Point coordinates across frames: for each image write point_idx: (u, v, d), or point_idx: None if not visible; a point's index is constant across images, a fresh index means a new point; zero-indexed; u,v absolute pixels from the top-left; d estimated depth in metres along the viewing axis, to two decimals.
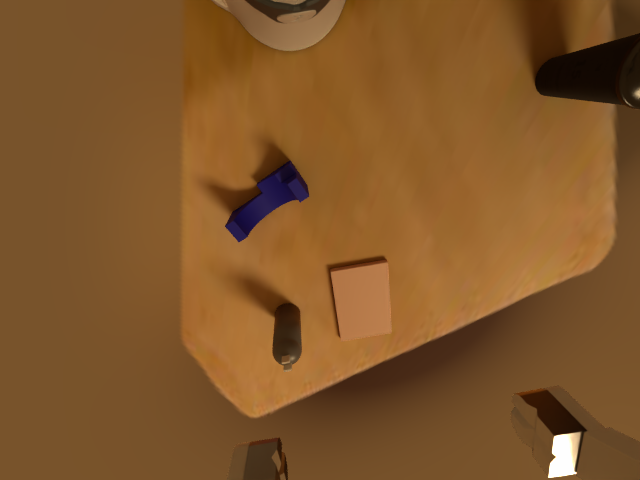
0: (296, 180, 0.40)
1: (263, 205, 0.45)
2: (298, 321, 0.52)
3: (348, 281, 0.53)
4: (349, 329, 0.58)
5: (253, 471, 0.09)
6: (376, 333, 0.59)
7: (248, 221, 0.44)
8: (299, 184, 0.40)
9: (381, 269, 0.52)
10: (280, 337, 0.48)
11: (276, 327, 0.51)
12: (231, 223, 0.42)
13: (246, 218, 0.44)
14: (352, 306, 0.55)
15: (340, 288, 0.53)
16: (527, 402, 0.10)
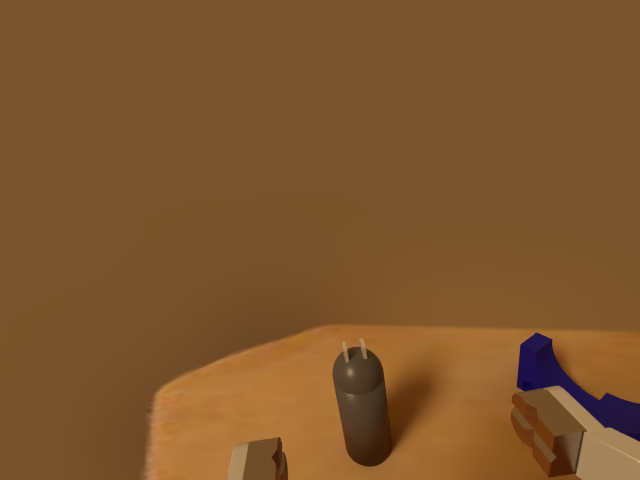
0: None
1: (579, 400, 0.30)
2: (378, 434, 0.27)
3: None
4: None
5: (253, 471, 0.09)
6: None
7: (548, 369, 0.31)
8: None
9: None
10: None
11: None
12: (545, 337, 0.32)
13: (551, 368, 0.31)
14: None
15: None
16: (527, 402, 0.10)
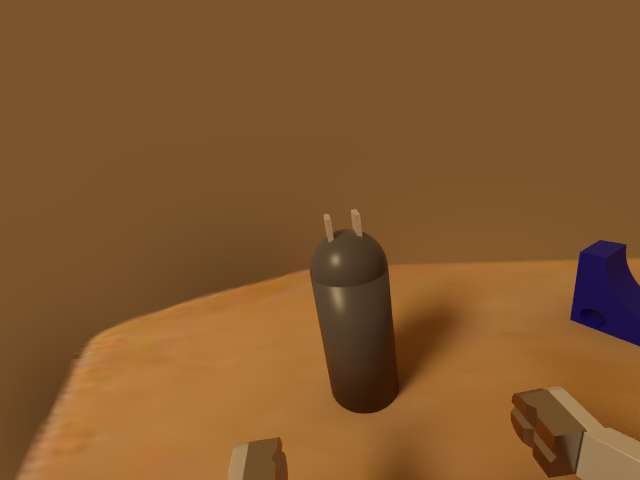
0: None
1: None
2: (379, 359, 0.18)
3: None
4: None
5: (253, 471, 0.09)
6: None
7: (622, 286, 0.21)
8: None
9: None
10: None
11: None
12: (616, 243, 0.22)
13: (626, 285, 0.21)
14: None
15: None
16: (527, 402, 0.10)
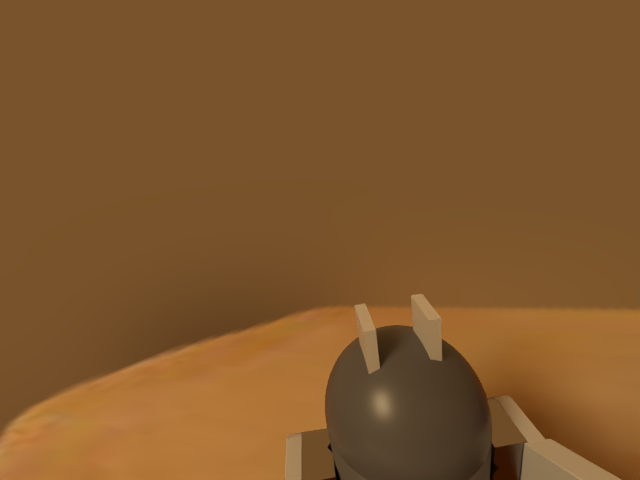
0: None
1: None
2: None
3: None
4: None
5: (311, 460, 0.09)
6: None
7: None
8: None
9: None
10: None
11: None
12: None
13: None
14: None
15: None
16: None
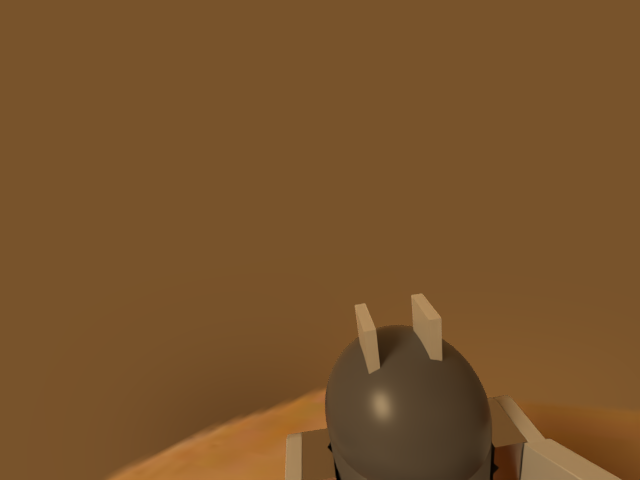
0: None
1: None
2: None
3: None
4: None
5: (311, 460, 0.09)
6: None
7: None
8: None
9: None
10: None
11: None
12: None
13: None
14: None
15: None
16: None
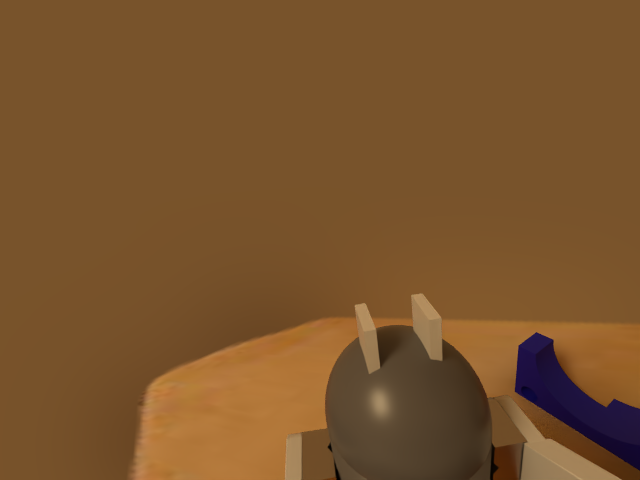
0: None
1: (583, 407, 0.27)
2: None
3: None
4: None
5: (311, 460, 0.09)
6: None
7: (548, 373, 0.28)
8: None
9: None
10: None
11: None
12: (546, 338, 0.29)
13: (552, 372, 0.28)
14: None
15: None
16: None
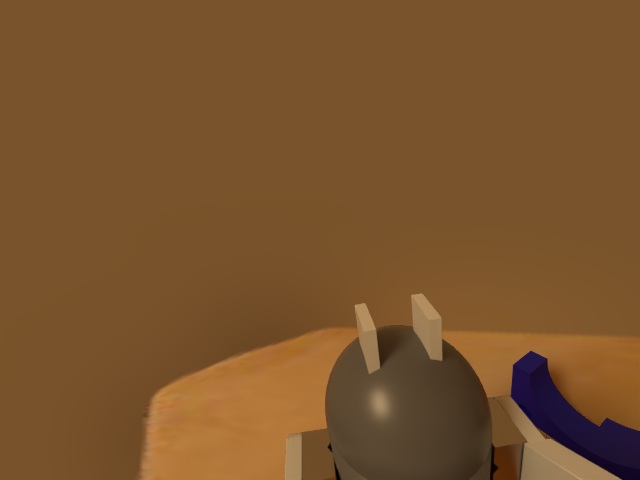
0: None
1: (576, 426, 0.27)
2: None
3: None
4: None
5: (311, 460, 0.09)
6: None
7: (543, 392, 0.29)
8: None
9: None
10: None
11: None
12: (540, 357, 0.30)
13: (546, 391, 0.29)
14: None
15: None
16: None
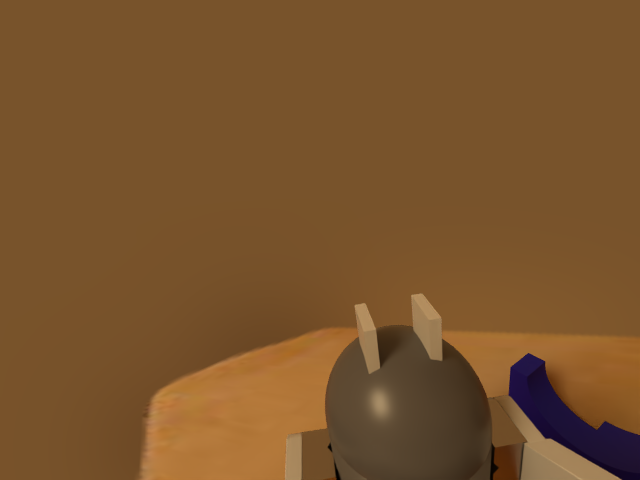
0: None
1: (574, 430, 0.27)
2: None
3: None
4: None
5: (311, 460, 0.09)
6: None
7: (540, 395, 0.28)
8: None
9: None
10: None
11: None
12: (538, 359, 0.29)
13: (544, 393, 0.29)
14: None
15: None
16: None
